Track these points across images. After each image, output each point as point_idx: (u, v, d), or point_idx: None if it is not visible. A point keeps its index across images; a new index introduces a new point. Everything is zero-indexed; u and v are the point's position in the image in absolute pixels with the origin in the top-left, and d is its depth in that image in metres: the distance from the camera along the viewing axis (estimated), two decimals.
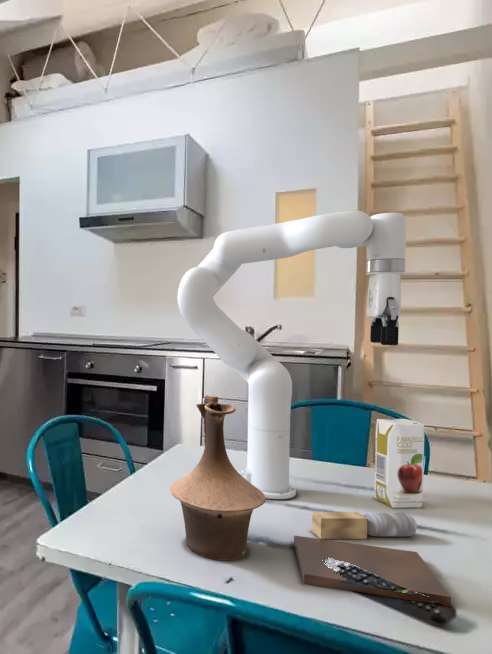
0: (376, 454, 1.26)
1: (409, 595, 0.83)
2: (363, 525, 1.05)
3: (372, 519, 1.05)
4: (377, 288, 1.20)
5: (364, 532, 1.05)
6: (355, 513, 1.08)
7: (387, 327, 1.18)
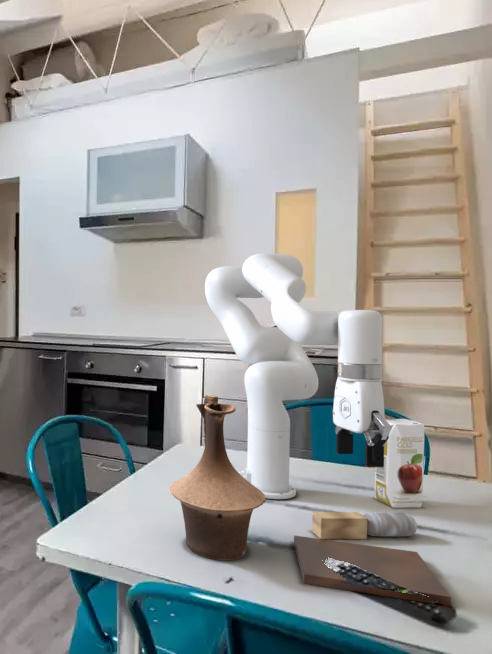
0: None
1: (409, 595, 0.83)
2: (363, 525, 1.05)
3: (372, 519, 1.05)
4: (360, 399, 1.02)
5: (364, 532, 1.05)
6: (355, 513, 1.08)
7: (374, 447, 1.01)
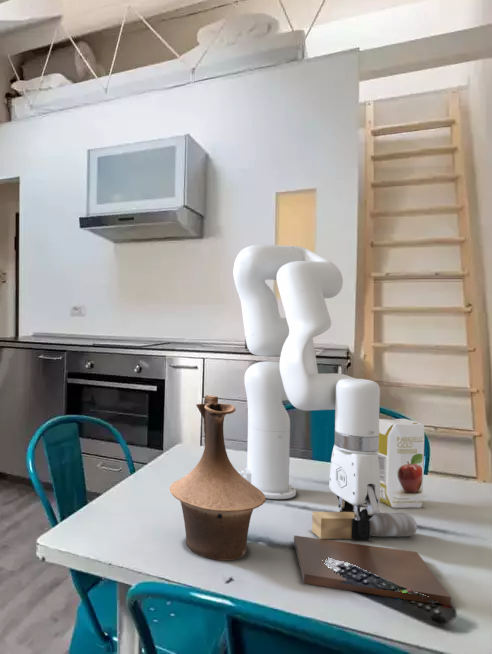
0: None
1: (409, 595, 0.83)
2: None
3: (372, 519, 1.05)
4: (356, 472, 1.02)
5: None
6: None
7: (360, 521, 1.04)
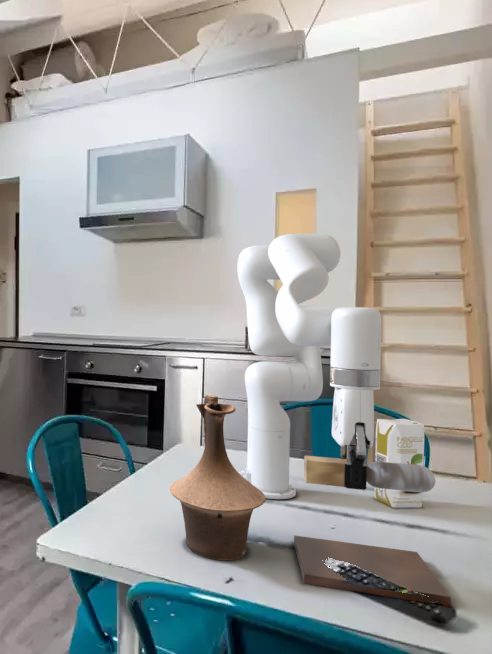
0: (376, 454, 1.26)
1: (409, 595, 0.83)
2: None
3: (373, 467, 0.92)
4: (343, 409, 0.90)
5: None
6: None
7: (352, 466, 0.91)
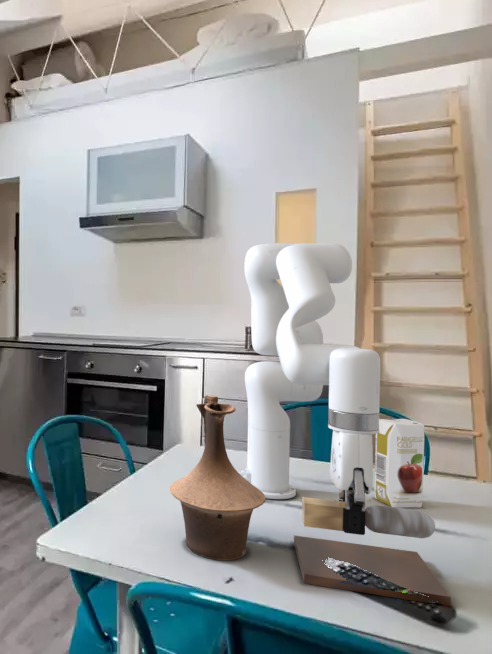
0: (376, 454, 1.26)
1: (409, 595, 0.83)
2: None
3: (372, 512, 0.90)
4: (341, 453, 0.89)
5: None
6: None
7: (350, 511, 0.90)
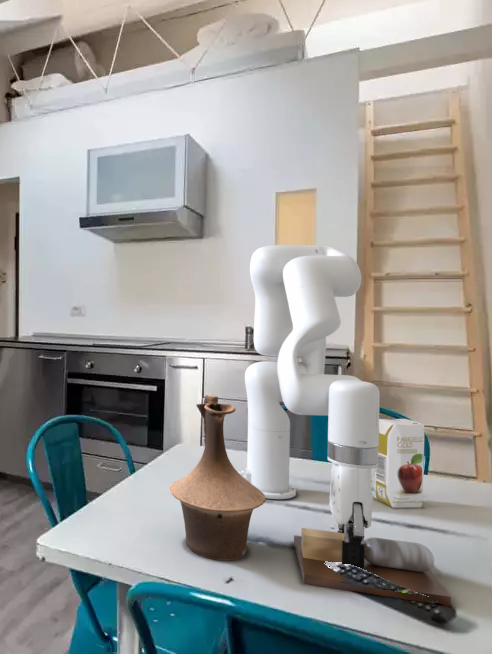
0: None
1: (409, 595, 0.83)
2: None
3: (371, 545, 0.90)
4: (340, 487, 0.89)
5: None
6: None
7: (349, 544, 0.90)
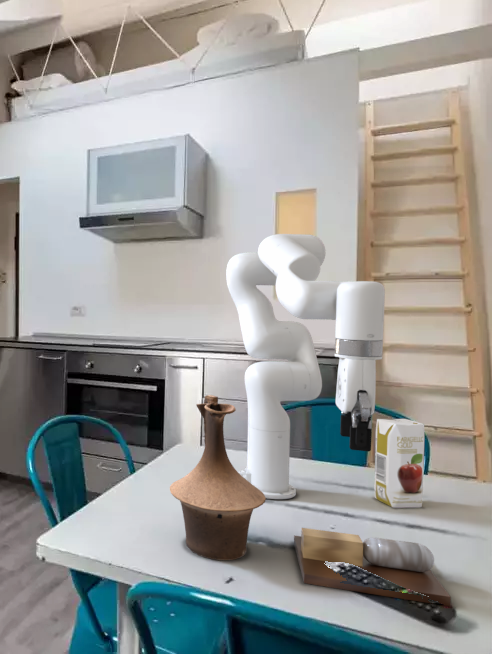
0: (376, 454, 1.26)
1: (409, 595, 0.83)
2: (358, 550, 0.91)
3: (371, 545, 0.90)
4: (346, 377, 0.95)
5: (358, 558, 0.91)
6: (354, 536, 0.93)
7: (357, 428, 0.94)
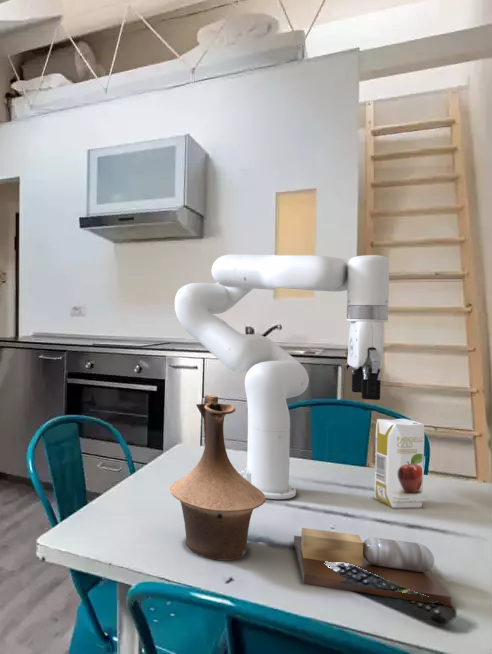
0: (376, 454, 1.26)
1: (409, 595, 0.83)
2: (358, 550, 0.91)
3: (371, 545, 0.90)
4: (357, 337, 1.11)
5: (358, 558, 0.91)
6: (354, 536, 0.93)
7: (368, 380, 1.09)
